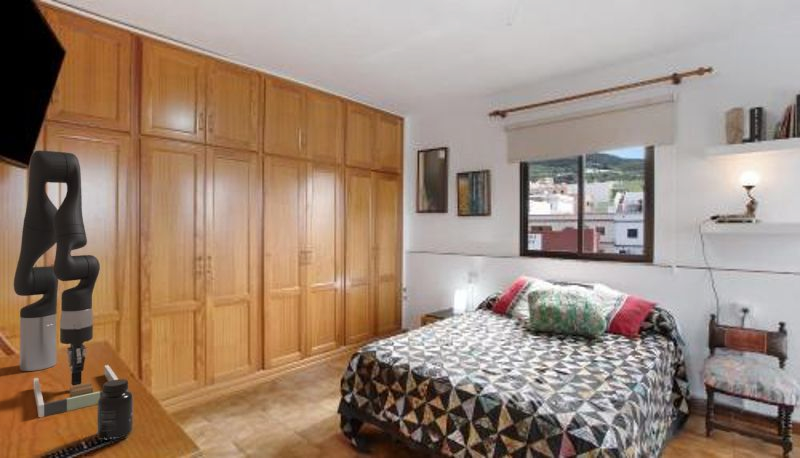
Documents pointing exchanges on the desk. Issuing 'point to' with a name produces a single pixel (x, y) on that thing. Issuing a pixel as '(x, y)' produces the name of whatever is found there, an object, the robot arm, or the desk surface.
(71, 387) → the walnut block
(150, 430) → the desk surface
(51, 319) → the robot arm
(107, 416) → the supplement bottle
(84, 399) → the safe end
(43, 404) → the box
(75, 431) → the desk surface
